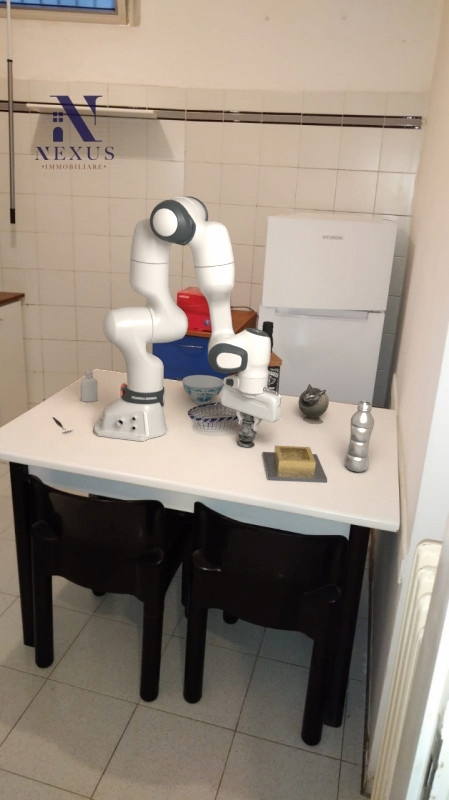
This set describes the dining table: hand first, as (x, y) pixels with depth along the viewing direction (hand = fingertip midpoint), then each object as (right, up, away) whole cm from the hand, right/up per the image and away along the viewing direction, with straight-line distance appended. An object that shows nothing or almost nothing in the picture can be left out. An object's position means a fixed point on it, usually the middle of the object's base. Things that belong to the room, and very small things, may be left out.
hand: (248, 427), depth 173 cm
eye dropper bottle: (-55, +8, +30) cm, 63 cm away
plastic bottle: (+30, -12, -10) cm, 34 cm away
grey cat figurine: (+23, +1, +26) cm, 34 cm away
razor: (-58, -1, +7) cm, 59 cm away
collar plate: (+12, -11, -12) cm, 20 cm away
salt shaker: (-1, -5, +2) cm, 6 cm away
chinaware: (-15, +8, +37) cm, 41 cm away
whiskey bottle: (+6, +4, +31) cm, 32 cm away
